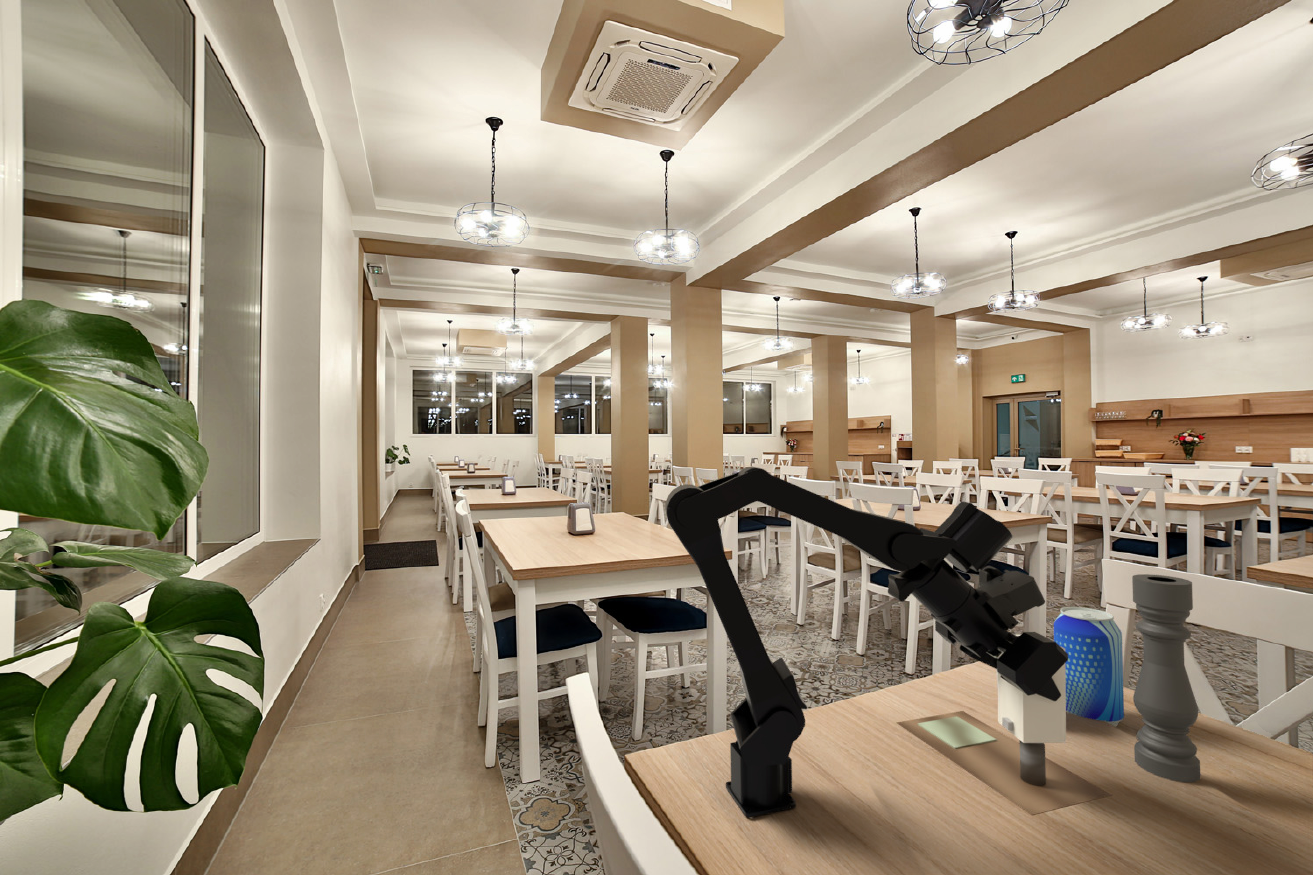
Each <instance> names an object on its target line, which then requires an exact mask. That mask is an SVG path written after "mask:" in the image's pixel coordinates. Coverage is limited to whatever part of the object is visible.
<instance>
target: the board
mask: <svg viewBox="0 0 1313 875" xmlns="http://www.w3.org/2000/svg"><path fill="white" fill-rule="evenodd" d="M896 724H897V725H899V726H900V727H902V729H904V730H906V731H907V732H909V733H911V735H912V736H915V737H917V739H919V740H920V741H922V742H924V743H925V744H926V745H927V746H929V747H931V748H932V749H934V750H935V751H936V752H938V753H940V754H941V755H942V756H944V757H946V758H947V759H949V760H950V761H951V762H953V763H954V764H956V765H958V767H960V768H962V769H964V771H966V772H967V773H969V774H971V775H972V776H974V778H977V779H978V780H979V781H981V782H982V783H984V784H985V785H987V786H989V788H991V789H992V790H994V791H995V792H996V793H998V794H1000V795H1001V796H1003V797H1004V798H1006V799H1007V800H1009V801H1010V802H1012V803H1013V804H1014V805H1016V806H1017V807H1019V808H1021V809H1022V810H1023V811H1025V812H1026V813H1027V814H1030V815H1031V816H1034V815H1038V814H1042V813H1046V812H1050V811H1054V810H1057V809H1062V808H1066V807H1070V806H1074V805H1079V804H1082V803H1083V804H1084V803H1086V802H1090V801H1094V800H1098V799H1103V798H1107V797H1110V796H1113V794H1112V793H1110V792H1108V791H1106V790H1105V789H1103V788H1101V787H1100V786H1097V785H1096V784H1094V783H1093V782H1090V781H1088V780H1087V779H1085V778H1084V777H1082V776H1080V775H1078V774H1077V773H1075V772H1073V771H1071V770H1069V769H1067V768H1065V767H1063V766H1062V765H1060V764H1058V763H1056V762H1054V761H1053V760H1051V759H1049V758H1048V757H1046V745H1045V744H1046V743H1023V742H1022V741H1020V740H1019V739H1018V740H1019V741H1017V740H1016V739H1014V738H1012V737H1010V736H1008V735H1006V734H1004V733H1003V732H1001V731H999V730H998V729H996V728H994V727H992V726H990V725H989V724H986V722H984V721H982V720H980V719H978V718H976V717H974V716H973V715H971V714H969V713H967V712H966V711H964V710H959V711H955V712H950V713H949V712H948V713H944V714H943V713H942V714H938V715H931V716H925V717H921V718H920V717H919V718H915V719H909V720H904V721H898V722H896Z"/></svg>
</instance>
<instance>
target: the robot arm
mask: <svg viewBox="0 0 1313 875" xmlns="http://www.w3.org/2000/svg"><path fill="white" fill-rule="evenodd" d="M756 502H759V503H761V504H764V505H766V506H768V507H771V508H773V509H775V510H779V512H780V511H781V512H783V513H785V514H787V515H789V516H792V517H794V518H796V519H799V520H801V521H803V522H806V523H808V524H810V525H813V526H815V527H818V528H819V529H822V530H825V531H827V532H829V533H832V534H834V535H836V536H838V537H839V538H841V539H842V540H844V541H845V542H846V543H848V544H850V546H853V547H854V548H855V549H857V550H858V551H860V552H862V554H864V555H866V556H868V557H869V558H870V559H873V560H875V561H876V562H878V563H880V564H881V565H884V566H885V567H888V568H890V569H892V570H894V571H896V572H899V573H897V574H888V576H887V577H888V578H887V579H888V587H887V594H888V595H889V596H891V597H893V598H894V599H895V600H897V601H899V602H901V603H904V602H905V601H906V600H907V599H908V598H909V596H911V595H912V596H913V597H914V598H915V599H916V600H918V602H919V603H920V604H921V605H922V606H924V607H925V609H927V611H929V613H931V614H930V616H931V617H932V619H934V620H935V621H934V625H935V626H934V627H935V631H936V633H937V634H938V635H940V637H941V638H942V639H943V640H945V641H946V642H948V643H949V644H951V645H952V646H954V647H955V646H957V645H958V644H959V645H960V646H959V650H960V651H961V652H963V653H964V654H965V655H967V656H968V657H970V658H972V659H974V660H976V661H978V662H981V663H982V664H984V665H987V666H989V667H991V668H994V669H997V672H998V673H999V674H1000V675H1001V676H1000V677H1001V678H1002V679H1004V680H1005V681H1007V682H1008V683H1010V684H1011V685H1013V686H1014V687H1016V688H1017V689H1019V690H1020V691H1022V692H1023V693H1025V694H1026V695H1028V696H1029V695H1034V694H1037V695H1040V696H1042V697H1045V698H1047V699H1050V700H1052V701H1057V700H1058V699H1059V698H1060V697H1061V693H1060V691H1059V690H1058V688H1057V686H1056V684H1055V682H1054V680H1053V679H1052V676H1053V675H1054V674H1055V673H1056V672H1057V671H1058V670H1059V669H1060V668H1061V667H1062V666H1063V665H1064V664H1065V663H1066V662H1067V661H1068V654H1067V653H1066V652H1065V651H1064V650H1063V649H1062V648H1061V647H1060V646H1059V645H1058V644H1057V643H1056V642H1054V640H1052V639H1050V638H1048V637H1046V636H1044V635H1042V634H1040V633H1038V632H1036V631H1023V632H1022V633H1021V634H1019V635H1020V636H1016V635H1017V634H1014V633H1012V632H1010V631H1009V630H1013V629H1014V628H1015V627H1016V626H1017V625H1018V624H1019V621H1018V620H1017V619H1016V618H1015V617H1016V616H1019V615H1021V614H1023V613H1025V612H1028V611H1029V610H1032V609H1033V608H1036V607H1037V608H1039V607H1041V606H1043V605H1044V604H1046V599H1045V598H1044V596H1043V594H1042V592H1041V589H1040V587H1039V585H1038V583H1037V581H1036V579H1035V578H1034V576H1032V575H1029V574H1026V573H1023V572H1021V571H1018V570H1008V569H1005V570H1003V572H1002V571H1001V570H1000V569H998V568H996V567H994V566H991V565H988V564H989V563H990V562H991V560H992V559H994V557H995V556H996V555H998V553H999V552H1000V551H1001V550H1002V549H1003V548H1004V547H1006V545H1007V544H1008V543H1009V542H1010V541H1011V540H1012V539H1013V534H1012V532H1011V531H1010V529H1009V528H1008V527H1007V526H1006V525H1005V524H1004V523H1003V522H1001V520H996V519H995V518H994V517H992V516H991V515H990V514H988V513H986V512H985V511H982V510H981V509H980V508H979V509H978V508H977V507H976V506H975V504H974V503H972V502H967V501H960V502H959V503H958V504H957V505H956V506H955V507H954V509H953V511H952V512H951V513H950V515H949V516H948V517H947V518H946V519H945V520H944V521H943V522H942V523H941V524H940V525H939V526H938V527H937V528H936V529H935V531H933V530H929V529H926V528H923V527H921V528H918V527H917V526H915V525H914V524H911V523H909V522H905V521H902V520H898V519H895V518H892V517H888V516H884V515H880V514H876V513H872V512H868V511H867V512H866V511H862V510H857V509H853V508H850V507H848V506H845V505H843V504H840V503H838V502H836V501H834V500H831V499H829V498H827V497H824V496H822V495H819V494H817V493H816V492H813V491H810V490H808V489H805V488H803V487H801V486H798V485H796V484H793V483H791V482H789V481H787V480H785V479H782V478H779V477H777V476H775V475H773V474H771V473H770V472H768V471H767V470H766V469H764V468H761V467H756V466H746V467H744V468H742V469H741V470H740V471H738V472H735V473H733V474H730V475H726V476H724V477H720V478H718V479H715V480H711V481H709V482H706V483H704V484H701V485H699V486H697V485H694V484H687V483H686V484H682V485H678V486H677V487H675V488H674V489H672V491H670V493H669V494H668V496H667V498H666V501H665V505H664V507H665V508H664V509H665V513H666V514H665V515H666V517H667V522H668V523H669V525H670V527H671V529H672V531H673V532H674V533H675V535H676V537H677V538H678V540H679V541H680V543H681V544H682V546H683V547H684V548H685V551H687V553H688V555H689V556H690V557H691V559H692V560H693V562H694V563H695V565H696V567H697V568H698V570H699V572H700V575H701V577H702V579H703V582H704V584H705V587H706V589H707V591H708V593H709V596H710V598H711V600H712V603H713V605H714V608H715V611H716V612H717V614H718V617H719V619H720V621H721V624H722V626H723V628H724V631H725V633H726V636H727V639H728V640H729V644H730V645H731V647H732V650H733V652H734V655H735V657H736V659H737V662H738V665H739V671H740V676H741V682H742V685H743V690H744V694H745V698H744V699H743V700H742V701H741V702H740V703H739V704H738V705H737V706H736V707H735V708H734V709H733V710H732V711H731V713H730V714H729V716H730V720H731V723H732V726H733V727H732V728H733V730H734V734H735V737H736V740H735V741H734V742H731V743H730V746H729V747H730V753H729V754H730V781H726V782H725V789H726V790H727V792H728V793H729V794H730V796H731V797H732V798H733V800H734V802H735V803H736V805H737V806H738V808H739V809H740V810H741V812H742V813H743V815H744V816H745V817H747V818H752V817H757V816H762V815H767V814H771V813H776V812H781V811H786V810H790V809H795V808H796V807H797V802H796V800H795V799H794V798H793V797H792V795H791V794H792V793H793V765H792V764H793V763H792V760H793V759H792V758H791V757H790V754H791V750H792V748H793V744H794V742H796V741H797V740H798V738H799V737H800V736H801V735H802V732H803V730H804V728H805V727H806V719H805V714H804V711H803V710H807V709H808V705H807V704H806V703H805V701H804V699H803V697H802V695H801V694H800V692H799V690H798V688H797V684H796V681H795V680H796V679H795V677H794V675H793V673H792V671H791V670H790V668H789V666H788V665H787V663H786V662H785V660H784V657H779V658H778V659H776V660H775V661H773V660H772V659H771V657H770V656H769V655H768V652H767V650H766V647H765V646H764V643H763V641H762V638H761V637H760V636H761V635H760V633H759V632H758V629H757V627H756V625H755V623H754V620H753V617H752V615H751V613H750V610H749V608H748V605H747V603H746V602H745V598H744V596H743V594H742V591H741V589H740V587H739V584H738V582H737V580H736V578H735V575H734V573H733V571H732V568H731V566H730V563H729V561H728V559H727V557H726V553H725V547H724V543H723V538H722V537H723V536H722V532H721V526H720V523H719V520H721V519H723V518H725V517H727V516H730V515H731V514H733V513H735V512H737V511H739V510H742V508H744V507H746V506H748V505H751V504H753V503H756ZM945 559H946V560H947V561H948V562H947V561H946V560H945ZM950 564H951V565H953V566H954V567H956V568H957V569H958V570H960V571H962V572H964V573H967V572H968V571H969V570H970V569H971V570H973V571H974V572H976V573H977V572H979V573H978V582H979V583H978V587H976V588H974V587H973V586H972V585H971V584H970V583H969V582H968V581H967V580H966V579H965V578H964V577H963V576H961V574H960V573H958V571H956V569H954V568H953V567H952V566H951V565H950ZM1008 641H1009V642H1008ZM997 648H998V649H999V650H998V649H997ZM1000 650H1001V651H1003V652H1004V653H1003V654H1002V655H1001V656H1000V657H999V655H1000V654H1001V653H1002V652H1001V651H1000ZM998 657H999V658H998Z"/></svg>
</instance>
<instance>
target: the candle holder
mask: <svg viewBox="0 0 1313 875" xmlns="http://www.w3.org/2000/svg"><path fill="white" fill-rule="evenodd" d="M1193 600H1194V599H1193V582H1192V580H1191V581H1190V580H1189V579H1186V578H1185V579H1184V578H1182V577H1181V578H1180V577H1178V576H1177V577H1176V576H1170V575H1160V574H1151V573H1150V574H1149V573H1148V574H1141V573H1140V574H1134V575H1132V602H1133V603H1134V604H1135V608H1136V610H1137V611H1138V612H1139V615H1140V616H1141V618H1142V620H1139V621H1138V622H1136V623H1135V628H1136V630H1137V631H1138V632H1140V634H1141V636H1142V640H1143V641H1142V642H1143V645H1142V646H1143V660H1142V664H1141V667H1140V672H1139V675H1138V679H1137V682H1136V685H1135V689H1134V692H1133V695H1132V696H1133V697H1132V698H1133V704H1134V706H1135V708H1136V710H1137V712H1138V713H1139V715H1140V716H1142V719H1141V720H1142V722H1143V723H1144V725H1143V726H1142V727H1141V729H1139V730H1137V733H1136V739H1137V740H1138V741H1136V742H1135V743H1134V747H1133V749H1134V750H1133V751H1134V752H1133V753H1134V762H1135V764H1136V765H1137V766H1138V767H1139V768H1140V769H1143V770H1144V771H1146V772H1147V773H1150V774H1152V775H1154V776H1157V777H1159V778H1162V779H1166V780H1169V781H1172V782H1173V781H1174V782H1179V783H1196V782H1198V781H1200V780H1201V760H1200V759H1199V758H1198V757H1197V756H1196V755H1197V751H1198V747H1197V745H1196V744H1195V743H1194V742H1193V741H1192V739H1191V738H1190V737H1189V736H1188V734H1189V733H1190V728H1191V727H1192V726H1193V725H1194V724H1195V723H1196V722H1197V719H1198V717H1199V707H1198V704H1197V700H1196V697H1195V694H1194V691H1193V688H1192V685H1191V682H1190V679H1189V676H1188V672H1187V669H1186V666H1185V643H1186V641H1187V640H1188V639H1190V638H1191V636H1192V631H1191V630H1190V629H1189V628H1187V627H1185V625H1184V624H1185V623H1186V621H1187V619H1188V618H1189V616H1190V615H1191V611H1192V610H1193V608H1194V604H1193V602H1194V601H1193Z"/></svg>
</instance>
